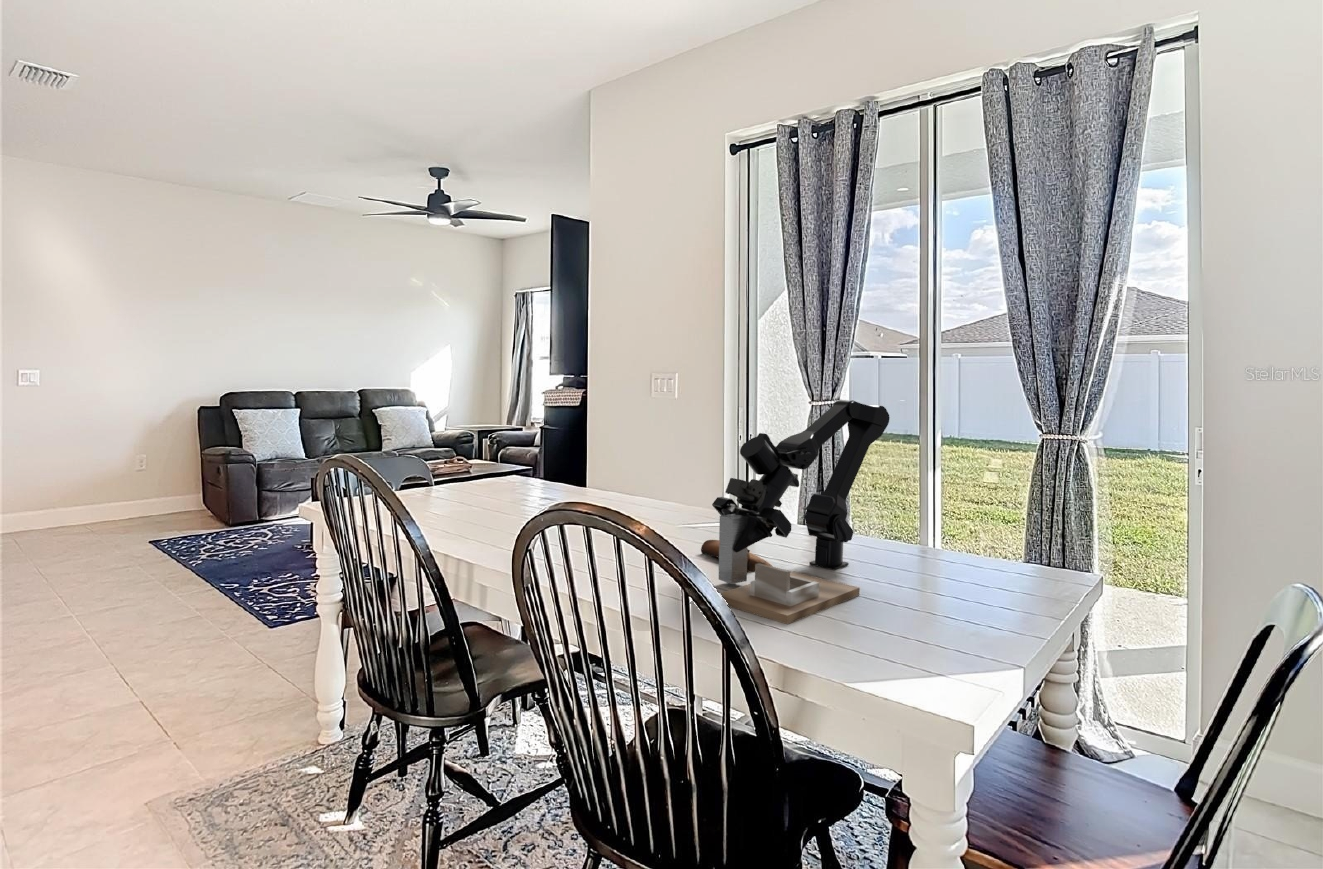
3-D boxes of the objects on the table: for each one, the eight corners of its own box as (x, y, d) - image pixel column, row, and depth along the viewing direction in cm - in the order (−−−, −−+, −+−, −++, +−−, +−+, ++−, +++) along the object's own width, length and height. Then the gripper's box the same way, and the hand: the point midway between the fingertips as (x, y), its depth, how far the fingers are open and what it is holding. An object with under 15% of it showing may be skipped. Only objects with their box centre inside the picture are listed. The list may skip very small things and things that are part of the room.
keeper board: (790, 577, 150) (791, 542, 150) (859, 595, 139) (860, 557, 138) (715, 602, 133) (716, 562, 133) (787, 624, 122) (788, 580, 121)
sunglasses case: (777, 567, 158) (766, 543, 156) (755, 586, 156) (743, 562, 153) (728, 549, 174) (717, 527, 171) (708, 567, 171) (696, 545, 169)
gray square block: (733, 576, 147) (734, 513, 146) (746, 581, 144) (748, 517, 143) (718, 579, 145) (719, 515, 144) (731, 584, 142) (732, 519, 141)
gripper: (719, 458, 152) (677, 515, 147) (782, 469, 137) (737, 532, 132) (747, 492, 158) (706, 548, 152) (810, 505, 142) (768, 568, 137)
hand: (727, 548), depth 143 cm, fingers closed on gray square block, 4 cm apart
